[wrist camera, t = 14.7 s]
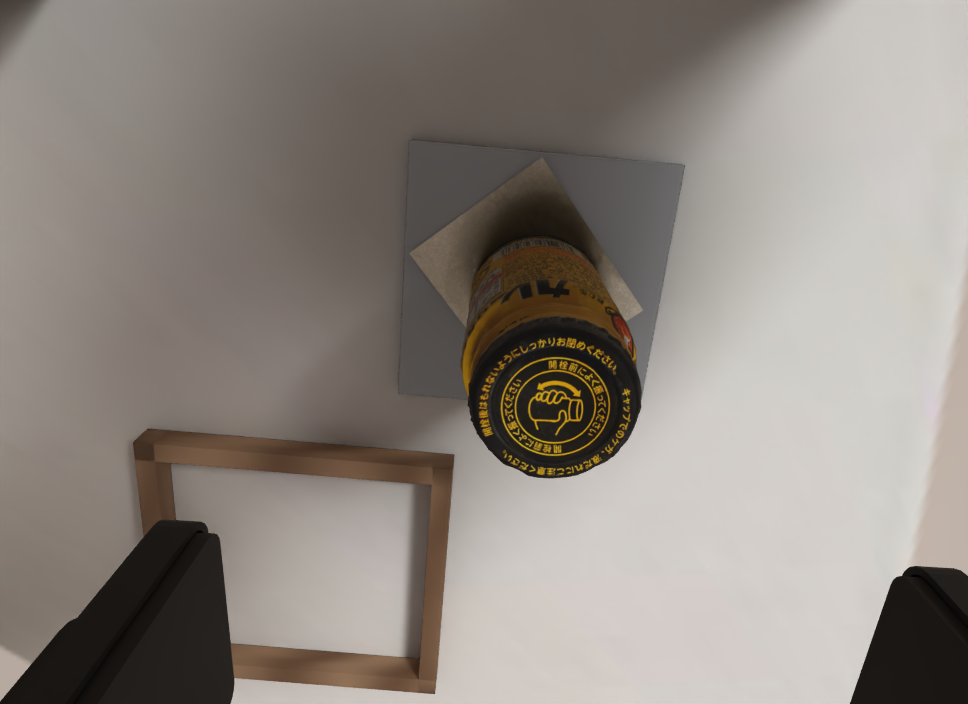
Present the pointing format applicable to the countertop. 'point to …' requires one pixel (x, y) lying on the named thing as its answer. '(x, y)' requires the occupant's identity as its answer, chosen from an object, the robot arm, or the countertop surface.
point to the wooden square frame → (322, 460)
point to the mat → (435, 204)
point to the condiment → (539, 327)
